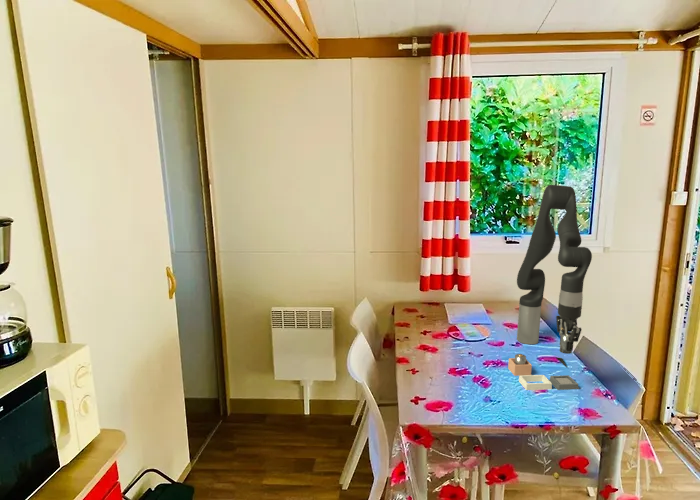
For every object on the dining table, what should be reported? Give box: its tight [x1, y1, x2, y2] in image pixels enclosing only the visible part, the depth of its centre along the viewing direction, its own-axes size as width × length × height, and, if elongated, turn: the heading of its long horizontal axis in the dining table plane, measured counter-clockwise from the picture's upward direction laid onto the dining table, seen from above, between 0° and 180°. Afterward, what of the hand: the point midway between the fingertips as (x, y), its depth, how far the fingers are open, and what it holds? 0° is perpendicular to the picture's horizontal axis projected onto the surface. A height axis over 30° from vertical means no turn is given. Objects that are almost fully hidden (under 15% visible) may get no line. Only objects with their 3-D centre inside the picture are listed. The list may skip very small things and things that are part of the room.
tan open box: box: [507, 357, 533, 377], centre depth 189 cm, size 6×6×5 cm
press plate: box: [555, 378, 572, 384], centre depth 178 cm, size 5×5×1 cm
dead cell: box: [514, 353, 527, 365], centre depth 188 cm, size 4×4×7 cm
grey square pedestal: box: [548, 374, 580, 391], centre depth 178 cm, size 7×8×3 cm
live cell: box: [559, 333, 573, 355], centre depth 175 cm, size 4×4×7 cm
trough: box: [518, 374, 553, 391], centre depth 178 cm, size 7×9×3 cm
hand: (566, 348), depth 176 cm, fingers closed on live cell, 4 cm apart
